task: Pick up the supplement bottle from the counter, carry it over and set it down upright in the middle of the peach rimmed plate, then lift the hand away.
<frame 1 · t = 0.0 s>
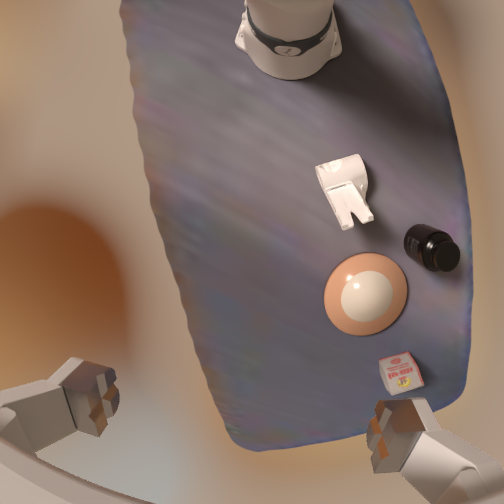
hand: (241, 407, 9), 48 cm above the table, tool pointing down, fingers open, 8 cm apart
plastic part: (342, 186, 53), on the table
supplement bottle: (418, 241, 54), on the table
peach rimmed plate: (365, 294, 57), on the table
tea bag: (393, 362, 60), on the table
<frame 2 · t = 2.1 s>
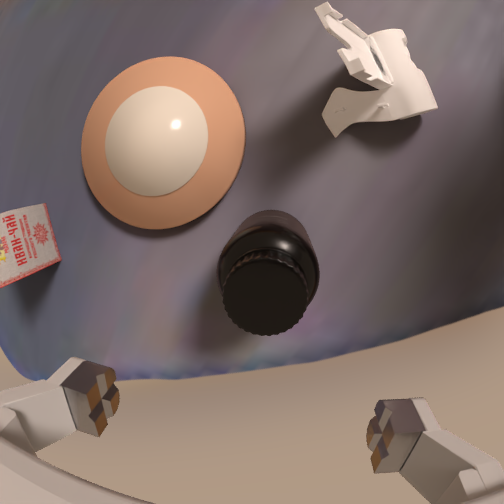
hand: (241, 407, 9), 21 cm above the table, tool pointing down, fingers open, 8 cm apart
plastic part: (367, 87, 25), on the table
supplement bottle: (272, 246, 29), on the table
peach rimmed plate: (159, 141, 27), on the table
tea bag: (44, 235, 31), on the table
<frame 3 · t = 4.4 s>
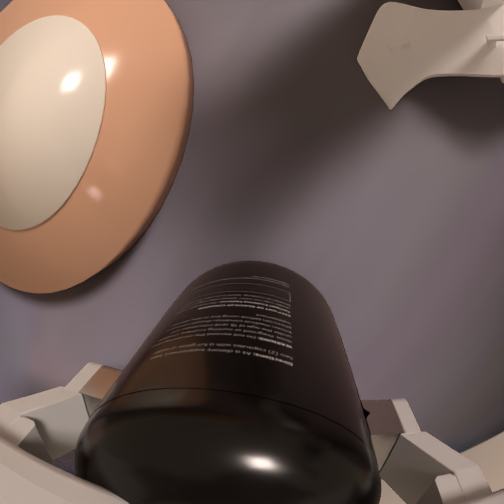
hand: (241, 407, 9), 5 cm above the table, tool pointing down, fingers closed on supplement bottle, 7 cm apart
plastic part: (438, 16, 9), on the table
supplement bottle: (254, 334, 13), on the table, touching gripper
peach rimmed plate: (38, 121, 12), on the table
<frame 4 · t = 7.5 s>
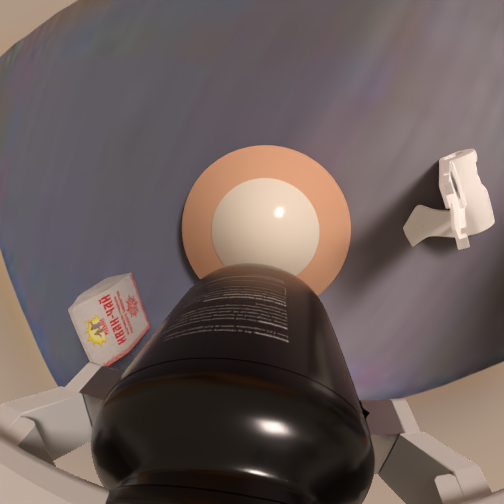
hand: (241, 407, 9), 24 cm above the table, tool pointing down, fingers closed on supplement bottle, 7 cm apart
plastic part: (438, 197, 29), on the table
supplement bottle: (253, 333, 14), point 18 cm above the table, touching gripper
peach rimmed plate: (266, 229, 31), on the table
tea bag: (128, 302, 35), on the table
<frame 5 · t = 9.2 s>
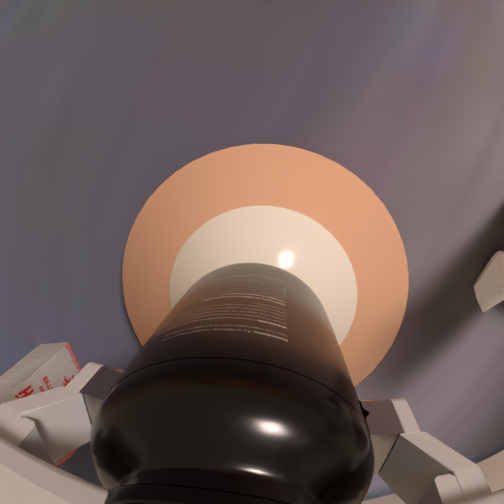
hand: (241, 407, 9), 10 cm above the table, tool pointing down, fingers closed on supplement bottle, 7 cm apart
supplement bottle: (252, 332, 14), point 4 cm above the table, touching gripper
peach rimmed plate: (263, 291, 18), on the table
tea bag: (72, 377, 22), on the table
when the fingers open (7 cm above the table, at t = 10.6 s): supplement bottle stays where it is, resting on peach rimmed plate.
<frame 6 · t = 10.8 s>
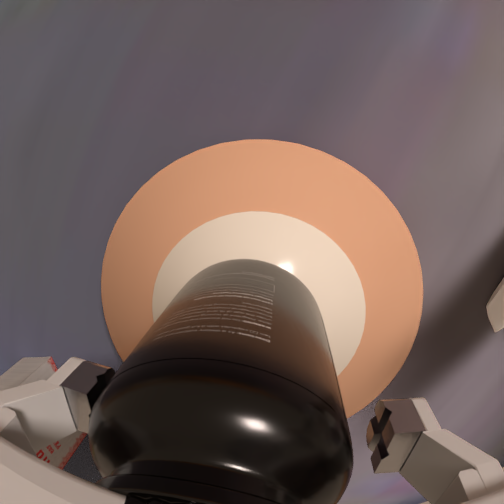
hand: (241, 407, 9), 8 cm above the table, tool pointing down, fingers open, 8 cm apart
supplement bottle: (248, 326, 15), point 2 cm above the table, touching peach rimmed plate
peach rimmed plate: (259, 308, 16), on the table
tea bag: (57, 392, 20), on the table
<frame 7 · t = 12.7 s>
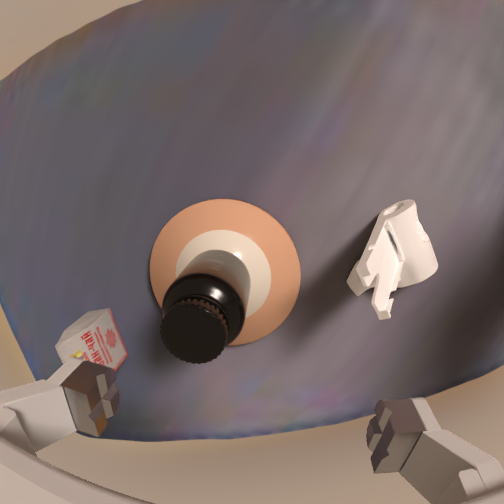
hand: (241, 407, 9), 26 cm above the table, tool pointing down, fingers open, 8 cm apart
plastic part: (381, 247, 33), on the table
supplement bottle: (218, 280, 33), point 2 cm above the table, touching peach rimmed plate
peach rimmed plate: (224, 273, 35), on the table
tea bag: (108, 333, 38), on the table
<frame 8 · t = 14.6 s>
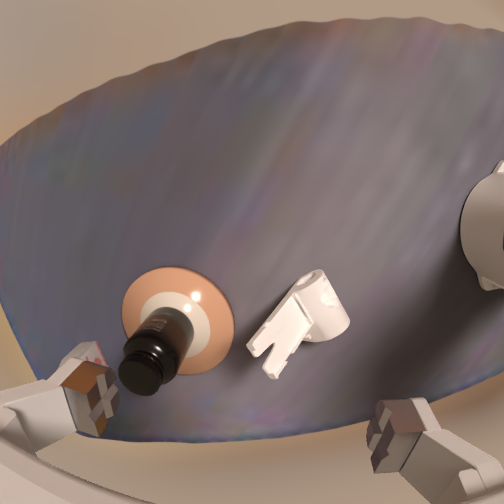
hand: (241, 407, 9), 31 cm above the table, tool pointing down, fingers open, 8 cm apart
plastic part: (302, 307, 41), on the table
supplement bottle: (172, 327, 42), point 2 cm above the table, touching peach rimmed plate
peach rimmed plate: (177, 321, 43), on the table
tea bag: (97, 358, 47), on the table
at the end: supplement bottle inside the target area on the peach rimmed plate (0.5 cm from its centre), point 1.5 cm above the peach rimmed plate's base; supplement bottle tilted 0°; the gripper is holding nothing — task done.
